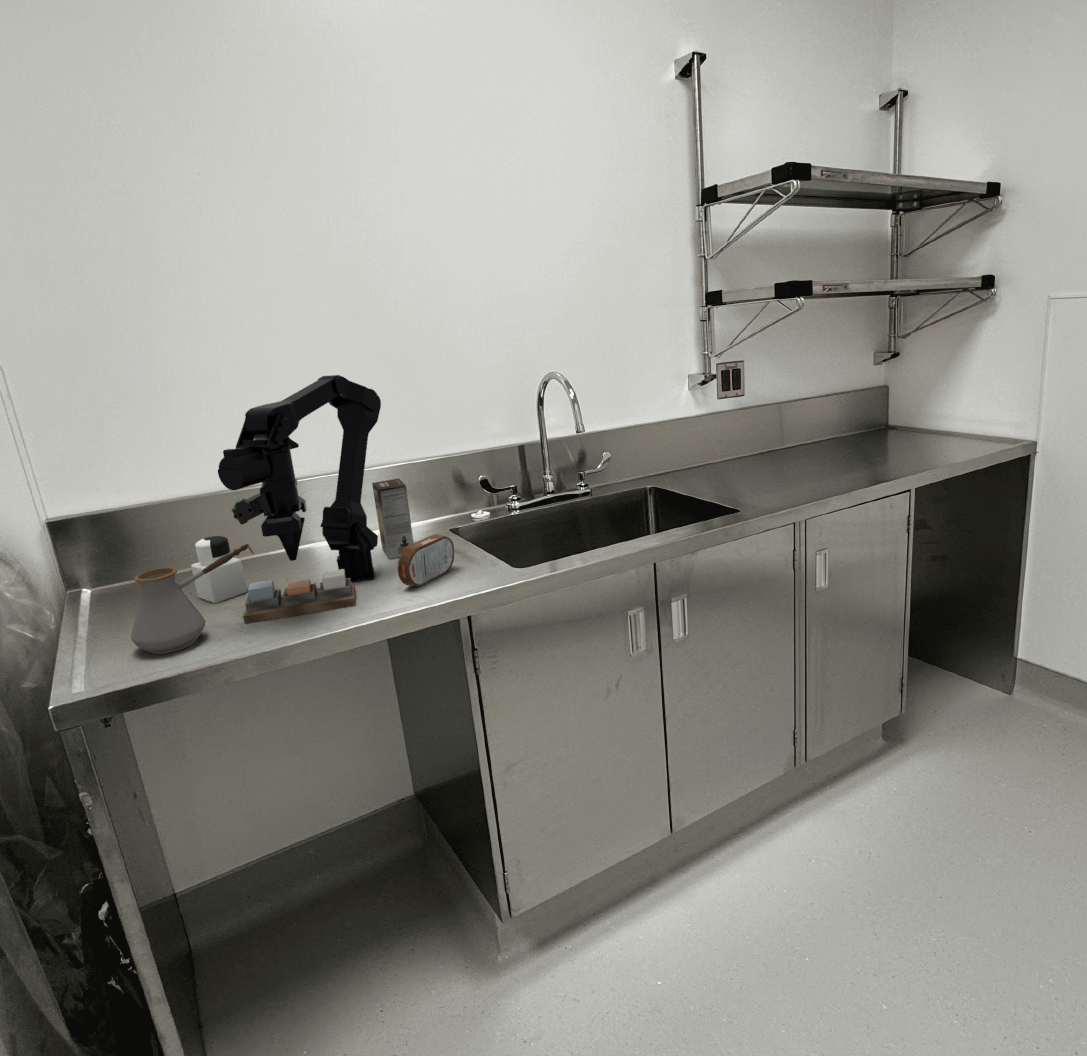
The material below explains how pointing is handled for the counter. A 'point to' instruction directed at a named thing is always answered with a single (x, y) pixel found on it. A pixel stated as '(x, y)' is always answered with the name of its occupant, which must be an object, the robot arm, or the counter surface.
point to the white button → (334, 579)
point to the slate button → (262, 590)
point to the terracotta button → (299, 587)
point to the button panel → (300, 603)
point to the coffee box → (393, 516)
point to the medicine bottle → (218, 571)
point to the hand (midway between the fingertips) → (293, 560)
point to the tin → (426, 560)
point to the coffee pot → (169, 609)
